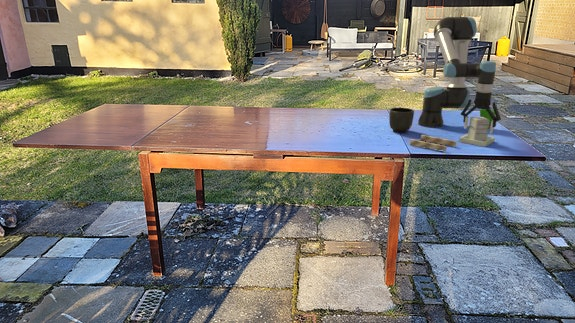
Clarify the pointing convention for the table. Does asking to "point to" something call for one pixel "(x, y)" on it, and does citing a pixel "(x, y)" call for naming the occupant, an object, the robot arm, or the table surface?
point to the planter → (401, 119)
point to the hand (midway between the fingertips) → (478, 130)
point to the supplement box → (478, 128)
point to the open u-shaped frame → (432, 140)
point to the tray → (476, 142)
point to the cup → (486, 116)
